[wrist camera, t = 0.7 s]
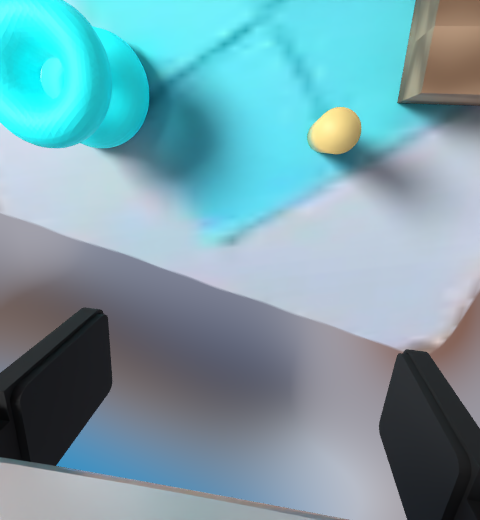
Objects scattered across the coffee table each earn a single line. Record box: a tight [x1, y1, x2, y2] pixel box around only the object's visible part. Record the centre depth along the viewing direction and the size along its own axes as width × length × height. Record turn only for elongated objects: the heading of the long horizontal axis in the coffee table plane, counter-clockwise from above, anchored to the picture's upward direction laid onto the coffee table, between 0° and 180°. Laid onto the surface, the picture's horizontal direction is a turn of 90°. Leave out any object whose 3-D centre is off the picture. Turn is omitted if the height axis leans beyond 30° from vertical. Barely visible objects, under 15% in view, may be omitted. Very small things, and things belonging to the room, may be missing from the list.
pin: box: [307, 107, 361, 154], centre depth 26 cm, size 3×3×10 cm
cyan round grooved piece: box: [0, 0, 149, 148], centre depth 27 cm, size 10×10×10 cm
